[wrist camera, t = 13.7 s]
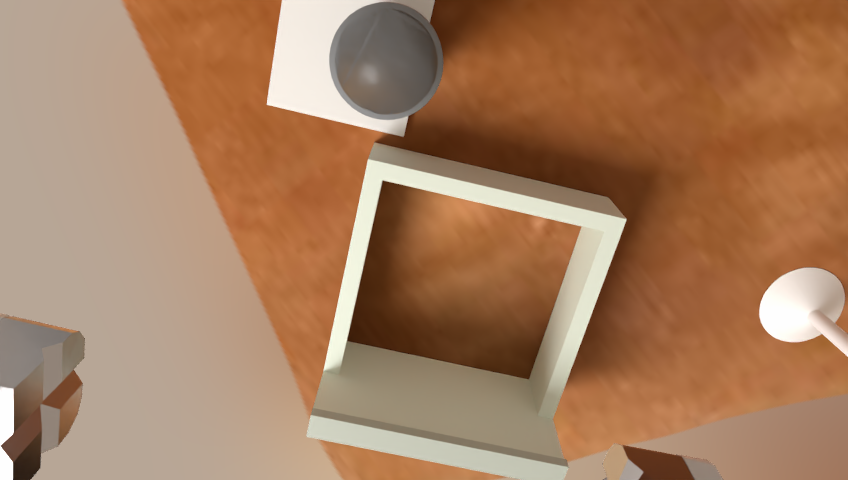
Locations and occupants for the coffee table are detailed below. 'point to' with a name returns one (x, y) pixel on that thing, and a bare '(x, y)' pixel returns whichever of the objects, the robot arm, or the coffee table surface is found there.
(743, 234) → the coffee table surface
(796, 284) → the champagne flute
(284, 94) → the mat
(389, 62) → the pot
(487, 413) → the frame
